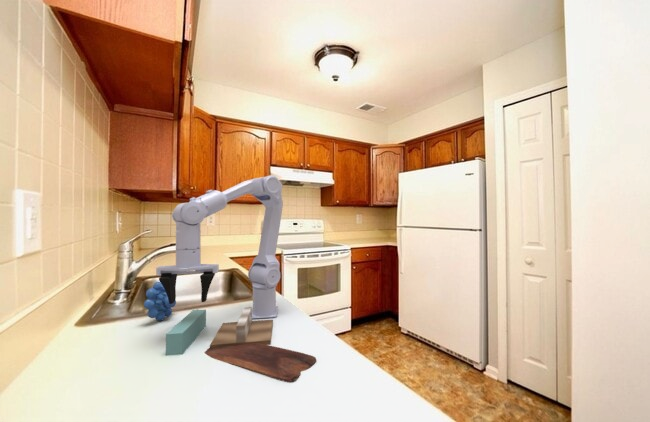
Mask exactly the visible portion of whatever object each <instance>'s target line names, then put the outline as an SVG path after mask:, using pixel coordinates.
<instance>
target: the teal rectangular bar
mask: <svg viewBox="0 0 650 422" xmlns="http://www.w3.org/2000/svg"><path fill="white" fill-rule="evenodd" d="M206 327H207V309H193V310H192V311H190V312H189V313H188V314H187V315H185V316H184V317H183V319H181V320H179V321H178V322H177V323H176V324H175V326H173V327H172V328H171V329H170V330H169V331H167V333H165V356H179V355H183V354H184V353H185V352H186V351H187V350H188V349H189V348H190V346H191V345H192V344H193V343H194V341H195V340H197V338H198V336H200V335H201V333H202V332H203V331H204V330H205V328H206Z"/></svg>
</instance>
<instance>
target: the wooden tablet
mask: <svg viewBox="0 0 650 422" xmlns="http://www.w3.org/2000/svg"><path fill="white" fill-rule="evenodd" d="M204 354H205V355H207V356H208V357H209V358H212V359H214V360H216V361H220V362H222V363H227V364H231V365H234V366H236V367H241V368H245V369H247V370H250V371H252V372H255V373H258V374H261V375H265V376H267V377H269V378H271V379H275V378H276V380H278V379H280V380H279V381H282V380H284V381H283V382H286V381H287V383H294V381H295V382H297V380H299V378H300V377H301V375H302V373H301V372H304V371H307V370H310V368H311V367H313V366H314V365H315V363H316V362H317V358H316V356H313V355H311V354H307V353H304V352H299V351H295V350H291V349H288V348H283V347H278V346H274V345H264V344H259V343H252V344H241V345H232V346H224V347H217V348H212V349H210V347H209V348H207V349H206V351H204ZM299 376H300V377H299Z"/></svg>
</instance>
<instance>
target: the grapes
mask: <svg viewBox="0 0 650 422" xmlns="http://www.w3.org/2000/svg"><path fill="white" fill-rule="evenodd" d="M145 296H146V297H147V299H145V300H144V302H143V307H144V308H145V309H146V310H147V311H146V313H147V316H148V317H149V318H150V319H155V320H156V321H159V322H161V321H164V319H165V318H166V317H170V316H171V315H172V313H173V309H172V308H174V307H175V306H176V304H177V299H176V300H175V302H174V303H173V304H169V300H168V296H167V294H166V291H165V289H164V287H163V285H162V284H161V282H160V281H156V282H154V283H153V285H152V287H150V288H148V289H147V290H146V292H145Z"/></svg>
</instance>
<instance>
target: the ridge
mask: <svg viewBox="0 0 650 422" xmlns="http://www.w3.org/2000/svg"><path fill="white" fill-rule="evenodd" d="M252 311H253V306H248V307H247V306H246V307H244V308H243V310H242V311H241V314H240V317H239V318H238V319H239V320H238V321H233V322H230V321H229V322H222V324H221V326H220V327H219V329H218V331H217V332H216V334H215V336H214V337H213V339H212V341H211V342H210V344H209V348H210V349H212V348H217V347H224V346H232V345H241V344H252V343H259V344H264V345H269V346H271V344H272V343H271V342H272V334H273V326H274V325H273V324H274V320H273V319H264V320H263V319H262V320H253V319H252Z"/></svg>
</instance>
